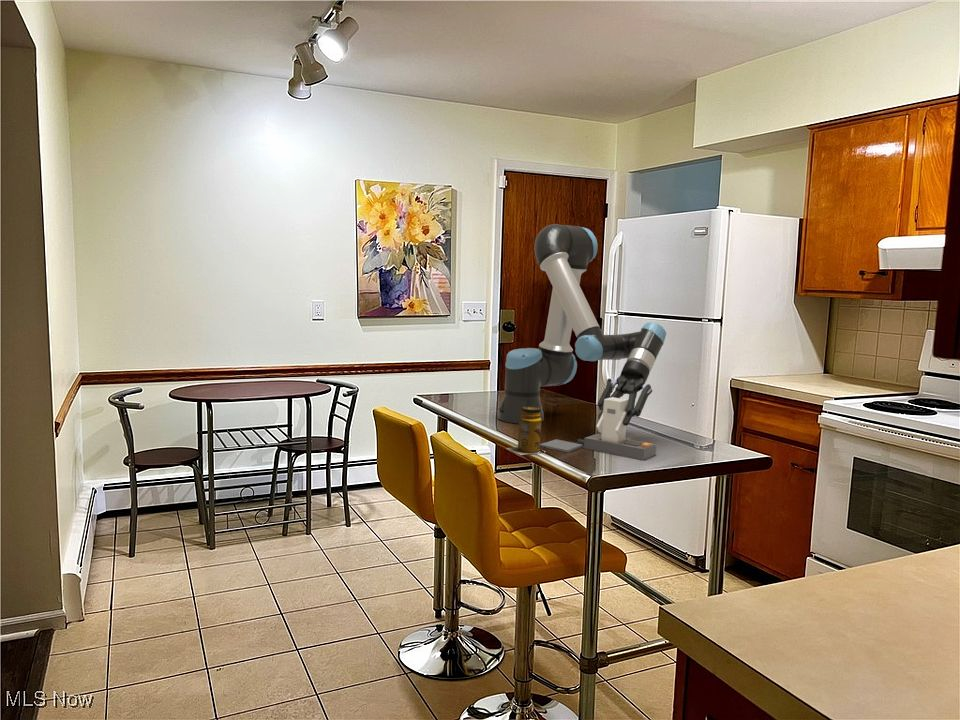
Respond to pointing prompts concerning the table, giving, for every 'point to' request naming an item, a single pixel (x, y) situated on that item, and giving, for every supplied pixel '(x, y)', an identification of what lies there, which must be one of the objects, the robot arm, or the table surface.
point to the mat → (561, 445)
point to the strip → (620, 447)
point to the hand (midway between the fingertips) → (608, 431)
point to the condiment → (528, 431)
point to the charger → (613, 419)
